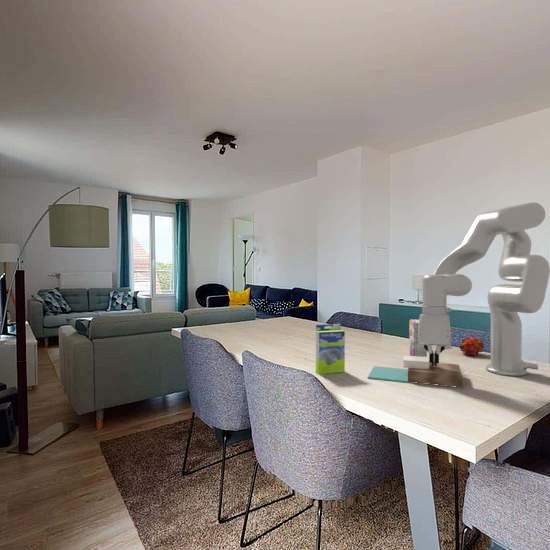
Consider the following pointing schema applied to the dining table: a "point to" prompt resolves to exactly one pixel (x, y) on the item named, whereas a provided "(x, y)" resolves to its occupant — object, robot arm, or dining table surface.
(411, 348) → the candy bar box
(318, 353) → the box
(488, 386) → the dining table surface
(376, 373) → the mat
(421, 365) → the tile
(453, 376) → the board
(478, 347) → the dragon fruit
